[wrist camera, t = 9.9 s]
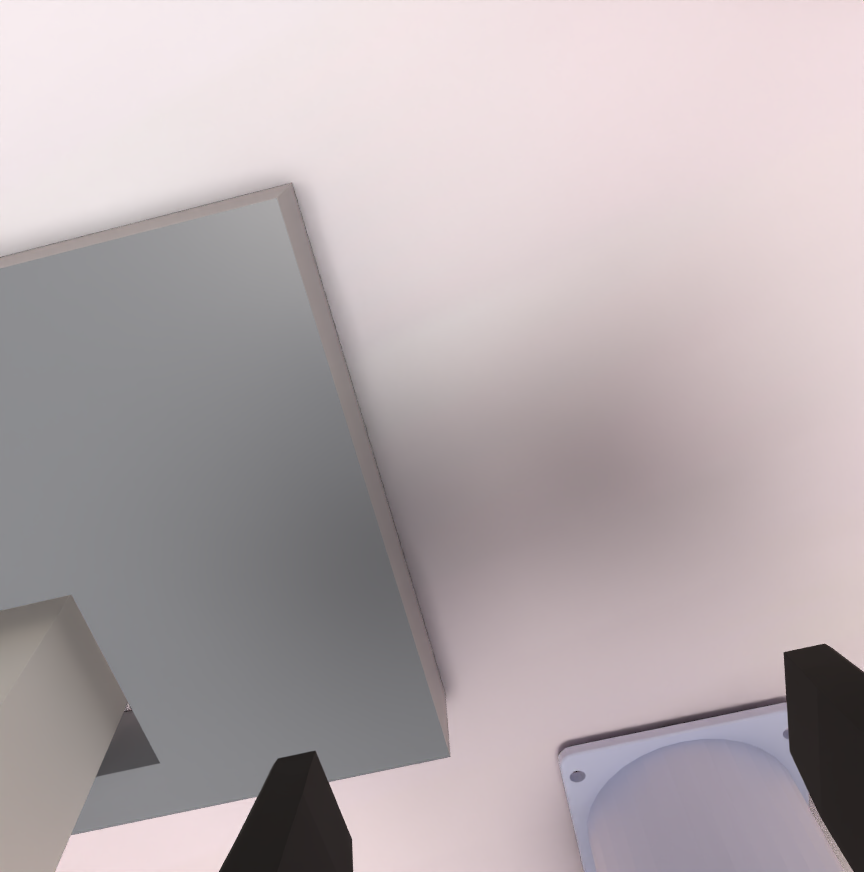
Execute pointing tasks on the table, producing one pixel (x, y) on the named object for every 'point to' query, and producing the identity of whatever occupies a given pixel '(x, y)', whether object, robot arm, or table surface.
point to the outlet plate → (208, 507)
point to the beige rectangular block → (49, 728)
